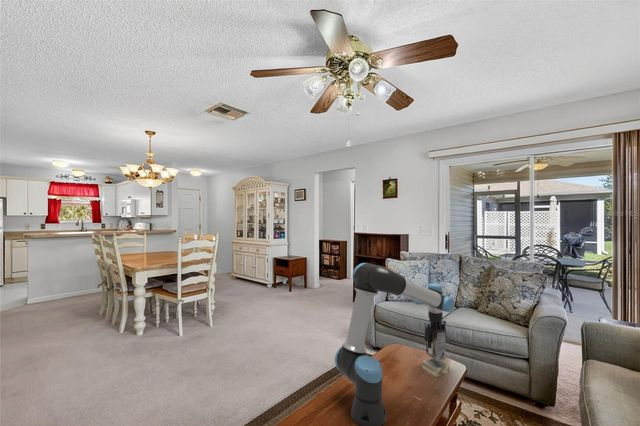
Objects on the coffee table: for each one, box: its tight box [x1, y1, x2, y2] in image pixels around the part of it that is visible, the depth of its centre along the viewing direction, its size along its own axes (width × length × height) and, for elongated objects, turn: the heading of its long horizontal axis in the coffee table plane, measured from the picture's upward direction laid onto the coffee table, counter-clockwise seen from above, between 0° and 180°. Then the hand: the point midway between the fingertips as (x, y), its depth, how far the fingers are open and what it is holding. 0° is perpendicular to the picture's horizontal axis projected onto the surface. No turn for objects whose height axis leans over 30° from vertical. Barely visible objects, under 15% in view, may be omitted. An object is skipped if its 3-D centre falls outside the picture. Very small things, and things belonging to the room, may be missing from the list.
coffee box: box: [425, 328, 446, 361], centre depth 165 cm, size 9×6×16 cm
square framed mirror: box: [422, 358, 450, 378], centre depth 165 cm, size 10×10×4 cm
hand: (435, 352), depth 165 cm, fingers closed on coffee box, 7 cm apart
